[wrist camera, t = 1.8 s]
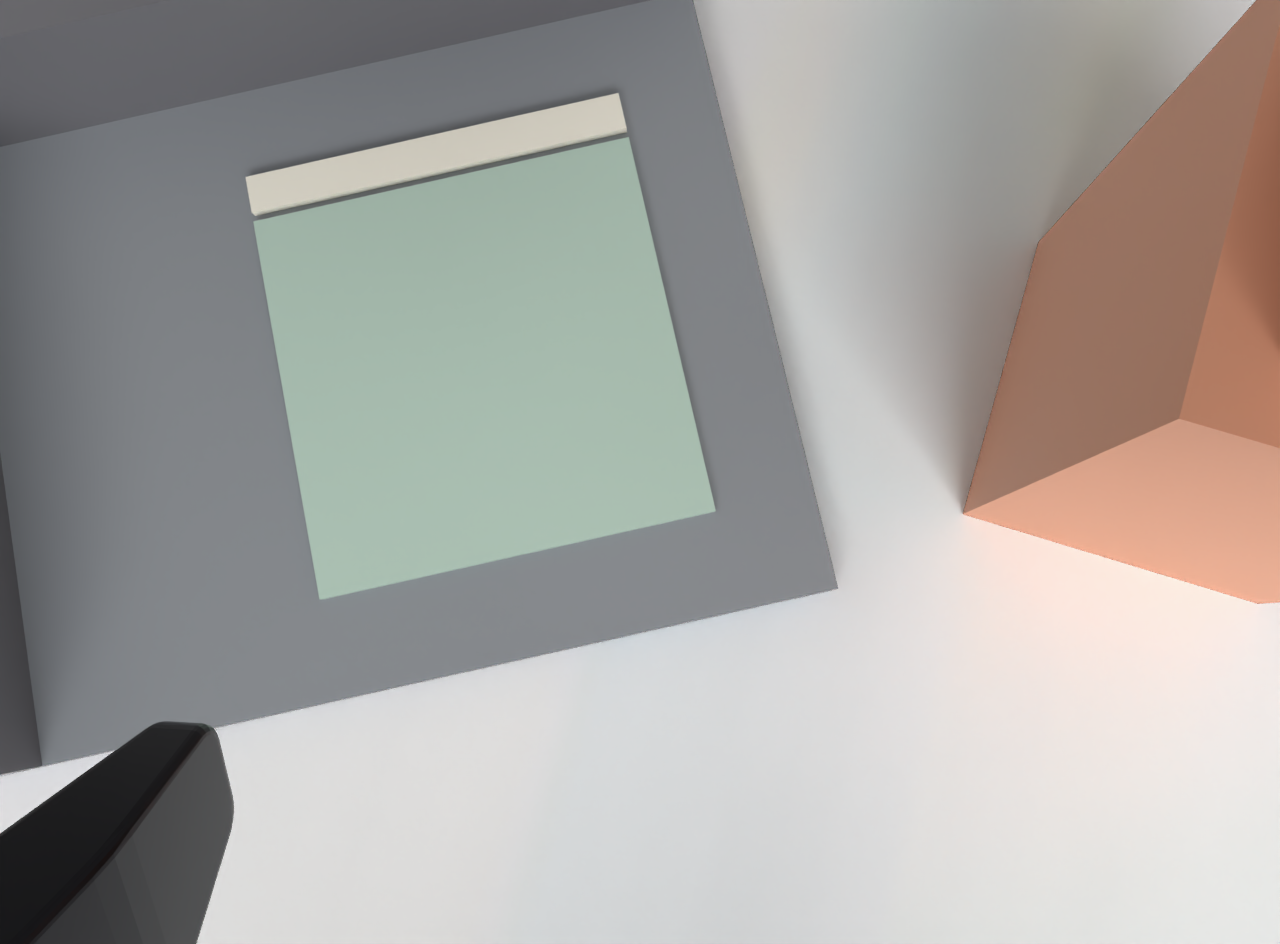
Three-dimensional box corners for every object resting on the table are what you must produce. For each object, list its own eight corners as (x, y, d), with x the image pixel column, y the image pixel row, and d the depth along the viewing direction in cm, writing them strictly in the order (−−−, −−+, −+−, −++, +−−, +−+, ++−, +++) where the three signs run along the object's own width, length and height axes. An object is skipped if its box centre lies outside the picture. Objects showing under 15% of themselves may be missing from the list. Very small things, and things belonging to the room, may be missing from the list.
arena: (833, 589, 23) (867, 579, 18) (-14, 779, 23) (-166, 809, 19) (675, -54, 25) (674, -191, 21) (-97, 120, 25) (-249, 18, 21)
